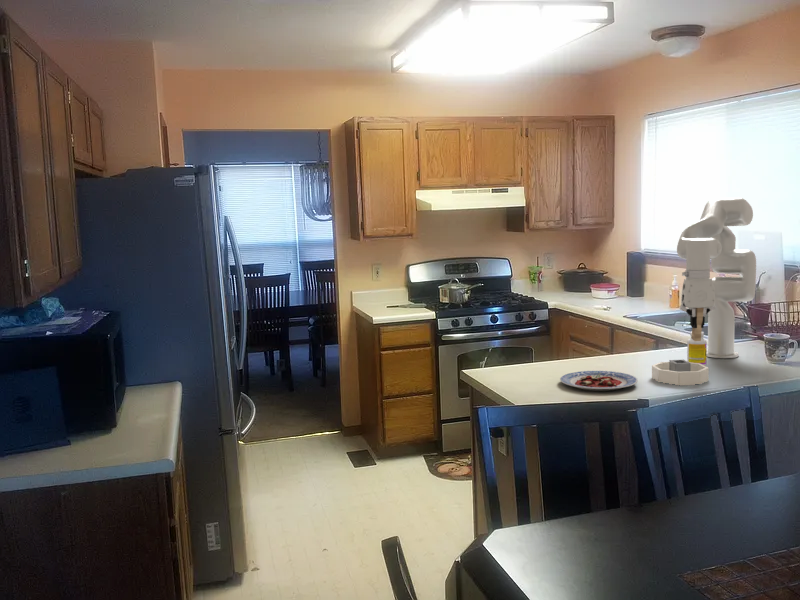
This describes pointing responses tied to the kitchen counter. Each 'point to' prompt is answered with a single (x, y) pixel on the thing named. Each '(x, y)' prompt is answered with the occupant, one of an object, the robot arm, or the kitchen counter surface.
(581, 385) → the ceramic plate
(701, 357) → the supplement bottle
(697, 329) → the wooden block
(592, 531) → the kitchen counter surface
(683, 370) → the shallow round tray
